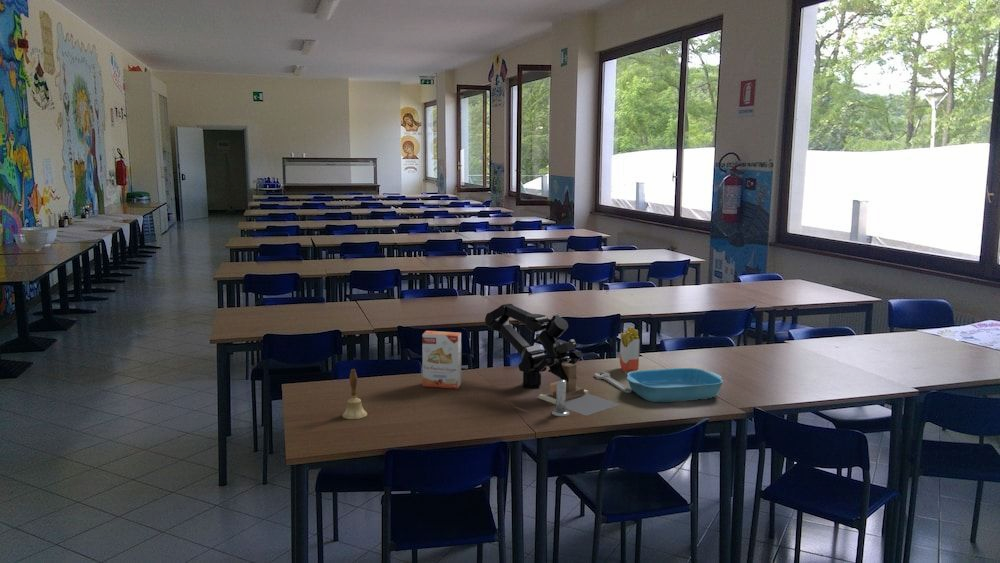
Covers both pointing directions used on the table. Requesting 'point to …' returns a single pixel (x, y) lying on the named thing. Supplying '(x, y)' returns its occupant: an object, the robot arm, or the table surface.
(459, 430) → the table surface
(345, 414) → the hand bell
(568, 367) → the wooden block on base
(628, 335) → the french fries container
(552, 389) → the terracotta block
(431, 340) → the cracker box
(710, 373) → the casserole dish
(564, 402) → the grey metal stick
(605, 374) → the adjustable wrench
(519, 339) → the robot arm
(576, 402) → the mat
